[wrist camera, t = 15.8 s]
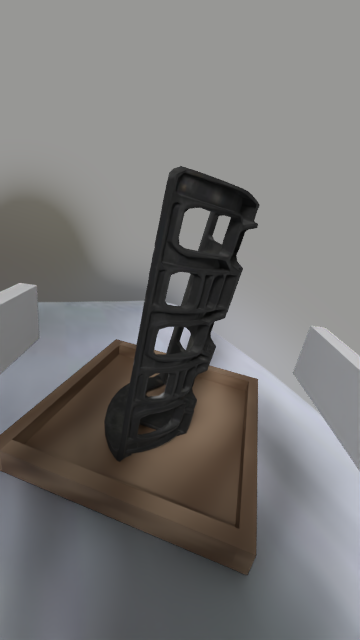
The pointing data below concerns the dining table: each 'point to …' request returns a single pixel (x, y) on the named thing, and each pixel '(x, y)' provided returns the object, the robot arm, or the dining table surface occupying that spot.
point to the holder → (180, 312)
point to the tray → (150, 459)
